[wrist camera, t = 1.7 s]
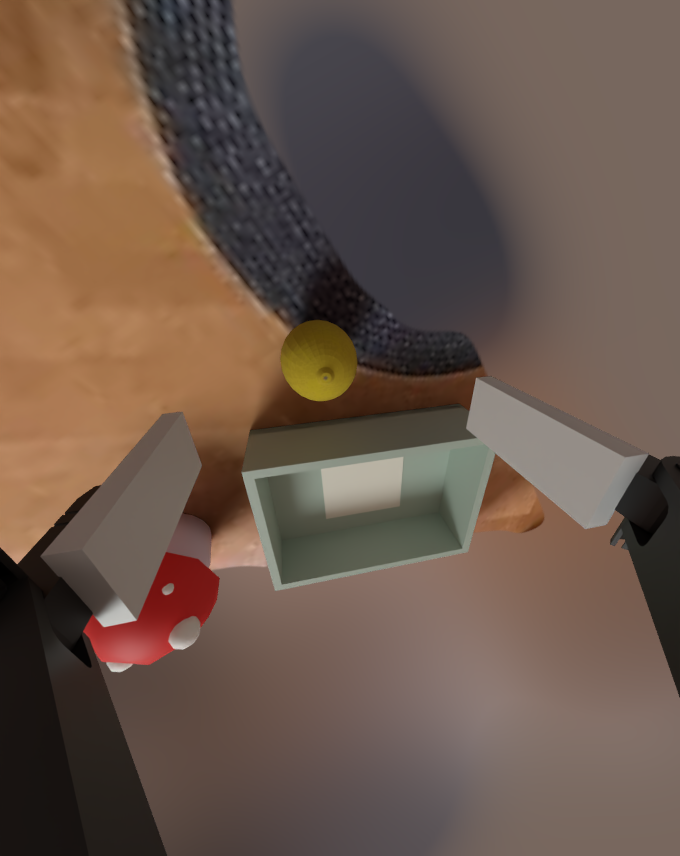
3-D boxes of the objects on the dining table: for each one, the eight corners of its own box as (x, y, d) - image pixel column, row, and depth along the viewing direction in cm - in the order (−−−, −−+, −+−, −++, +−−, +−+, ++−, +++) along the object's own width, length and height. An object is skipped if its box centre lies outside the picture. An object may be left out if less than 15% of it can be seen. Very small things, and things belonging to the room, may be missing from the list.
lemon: (329, 301, 22) (349, 314, 16) (354, 362, 25) (381, 396, 18) (268, 331, 23) (261, 357, 16) (299, 388, 26) (305, 431, 19)
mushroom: (126, 563, 32) (53, 701, 22) (119, 491, 27) (21, 623, 17) (225, 565, 35) (201, 687, 25) (234, 499, 30) (208, 616, 20)
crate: (249, 430, 27) (241, 472, 21) (459, 403, 29) (500, 434, 24) (276, 539, 34) (275, 590, 29) (440, 509, 37) (467, 551, 32)
